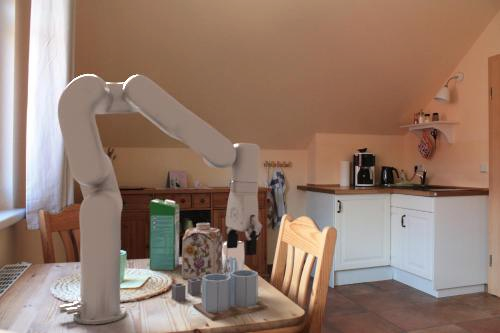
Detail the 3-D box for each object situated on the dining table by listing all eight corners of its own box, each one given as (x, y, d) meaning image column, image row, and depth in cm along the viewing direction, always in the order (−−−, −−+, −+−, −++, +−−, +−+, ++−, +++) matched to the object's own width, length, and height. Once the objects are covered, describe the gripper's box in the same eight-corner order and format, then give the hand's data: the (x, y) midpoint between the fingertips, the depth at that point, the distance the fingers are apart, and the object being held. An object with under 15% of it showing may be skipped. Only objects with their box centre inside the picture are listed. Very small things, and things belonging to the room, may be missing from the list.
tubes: (210, 314, 106) (210, 282, 106) (198, 306, 112) (198, 275, 112) (262, 304, 114) (262, 274, 114) (247, 296, 120) (248, 268, 120)
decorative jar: (215, 281, 139) (215, 226, 139) (181, 279, 141) (181, 225, 141) (223, 272, 151) (223, 221, 150) (191, 270, 152) (192, 220, 152)
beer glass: (241, 296, 122) (241, 245, 122) (218, 295, 124) (218, 244, 124) (246, 290, 129) (246, 241, 129) (224, 288, 131) (224, 240, 131)
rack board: (211, 320, 104) (211, 315, 104) (193, 307, 113) (193, 303, 113) (267, 308, 113) (267, 304, 113) (245, 297, 122) (246, 293, 122)
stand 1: (175, 301, 118) (175, 287, 118) (171, 298, 121) (171, 284, 121) (185, 299, 120) (185, 285, 120) (181, 296, 122) (181, 282, 122)
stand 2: (191, 295, 123) (191, 281, 123) (187, 292, 126) (187, 279, 126) (200, 293, 125) (201, 280, 125) (196, 291, 127) (196, 278, 127)
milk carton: (174, 269, 153) (175, 200, 152) (149, 269, 153) (150, 200, 153) (178, 264, 162) (179, 198, 161) (155, 263, 162) (155, 198, 162)
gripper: (217, 186, 120) (214, 246, 120) (249, 190, 106) (245, 259, 106) (239, 186, 124) (236, 244, 124) (273, 191, 110) (270, 256, 110)
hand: (240, 251), depth 115 cm, fingers open, 9 cm apart
